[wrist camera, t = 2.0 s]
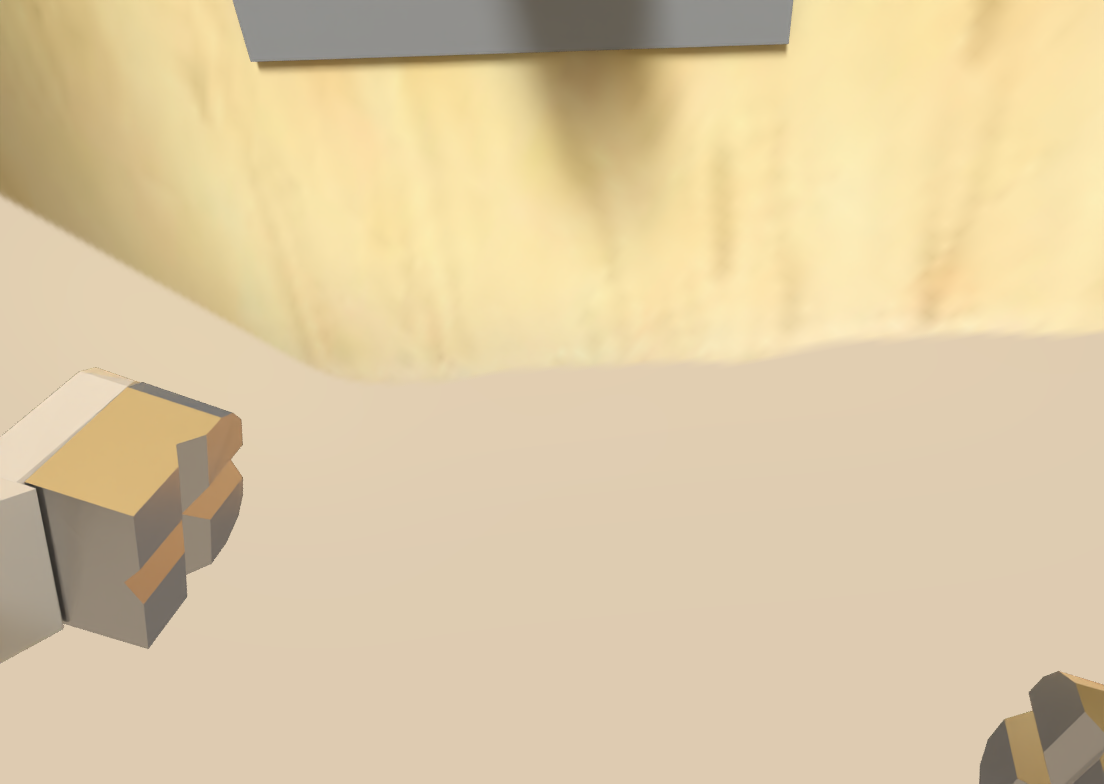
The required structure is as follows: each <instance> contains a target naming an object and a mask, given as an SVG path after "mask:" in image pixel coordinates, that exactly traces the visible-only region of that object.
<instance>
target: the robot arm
mask: <svg viewBox="0 0 1104 784" xmlns="http://www.w3.org/2000/svg"><path fill="white" fill-rule="evenodd" d="M241 424H242V423H241V419H240V418H239V417H238V416H236V415H235V414H234V413H232V412H228V411H226V410H223V409H220V408H217V407H214V406H211V405H208V404H205V403H202V402H199V401H196V400H193V399H190V398H187V397H185V396H182V395H178V394H176V393H173V392H170V391H167V390H164V389H161V388H158V387H155V386H152V385H149V384H146V383H144V382H141V383H140V382H137V381H134V380H131V379H128V378H125V377H122V376H120V375H117V374H114V373H111V372H108V371H105V370H102V369H99V368H96V367H95V368H91V369H87V370H83V371H80V372H78V373H76V374H75V375H74V376H73V377H72V378H71V379H69V380H68V381H67V382H66V383H64V384H63V385H62V386H61V387H60V388H59V389H57V390H56V391H55V392H54V393H53V394H51V395H50V396H49V397H48V398H46V399H45V400H44V401H43V402H42V403H40V404H39V405H38V406H37V407H36V408H34V409H33V410H32V411H31V412H29V413H28V414H27V415H26V416H25V417H23V418H22V419H21V420H20V421H19V422H17V423H16V424H15V425H14V426H13V427H11V428H10V429H9V430H8V431H7V432H5V433H4V434H3V435H2V436H1V437H0V663H2V662H4V661H6V660H8V659H9V658H11V657H13V656H15V655H17V654H19V653H20V652H22V651H24V650H26V649H28V648H29V647H31V646H33V645H35V644H37V643H39V642H41V641H42V640H44V639H46V638H48V637H50V636H52V635H53V634H55V633H57V632H59V631H61V630H62V629H63V628H64V625H63V624H67V625H71V626H73V627H77V628H80V629H83V630H87V631H90V632H93V633H97V634H101V635H103V636H107V637H110V638H113V639H117V640H120V641H123V642H127V643H130V644H134V645H137V646H140V647H144V648H147V649H149V647H150V646H151V645H152V643H153V642H154V641H155V639H156V638H157V637H158V635H159V634H160V633H161V631H162V630H163V629H164V627H165V625H167V623H168V622H169V620H170V619H171V618H172V616H173V615H174V614H175V612H176V611H177V610H178V608H179V607H180V606H181V604H182V603H183V602H184V600H185V599H186V598H187V585H186V575H187V574H189V573H191V572H193V571H196V570H198V569H200V568H203V567H205V566H207V565H209V564H211V563H212V562H213V561H214V559H215V558H216V557H217V555H218V554H219V552H220V551H221V549H222V548H223V547H224V545H225V544H226V542H227V540H228V538H229V536H230V533H231V531H232V529H233V527H234V524H235V522H236V520H237V517H238V515H239V510H240V505H241V501H242V496H243V477H242V475H241V474H240V472H239V471H238V470H237V468H236V467H235V465H234V464H233V462H232V461H231V458H232V457H233V456H234V455H235V453H236V452H237V451H238V450H239V449H240V447H241V446H242V445H243V442H242V425H241ZM1029 696H1030V701H1031V706H1032V711H1030V712H1026V713H1023V714H1020V715H1016V716H1013V717H1010V718H1007V719H1004V720H1003V722H1002V723H1001V724H1000V725H999V726H998V728H997V729H996V730H995V732H994V733H993V734H992V735H991V736H990V738H989V739H988V741H987V744H986V747H985V751H984V754H983V757H982V761H981V764H980V779H979V780H980V781H979V784H1104V685H1103V684H1100V683H1096V682H1093V681H1090V680H1086V679H1083V678H1080V677H1077V676H1073V675H1070V674H1067V673H1063V672H1060V671H1057V672H1055V673H1052V674H1050V675H1047V676H1044V677H1043V678H1042V679H1041V680H1040V681H1039V682H1038V683H1037V684H1036V685H1035V686H1034V687H1033V688H1032V689H1031V691H1030V692H1029Z"/></svg>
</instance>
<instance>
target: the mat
mask: <svg viewBox="0 0 1104 784" xmlns="http://www.w3.org/2000/svg"><path fill="white" fill-rule="evenodd" d="M233 3H234V6H235V10H236V13H237V17H238V20H239V23H240V27H241V30H242V34H243V37H244V40H245V44H246V47H247V51H248V54H249V57H250V61H251V62H257V61H287V60H317V59H347V58H377V57H408V56H438V55H468V54H498V53H528V52H558V51H589V50H619V49H649V48H679V47H709V46H739V45H769V44H788V43H789V34H790V25H791V15H792V6H793V0H233Z"/></svg>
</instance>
